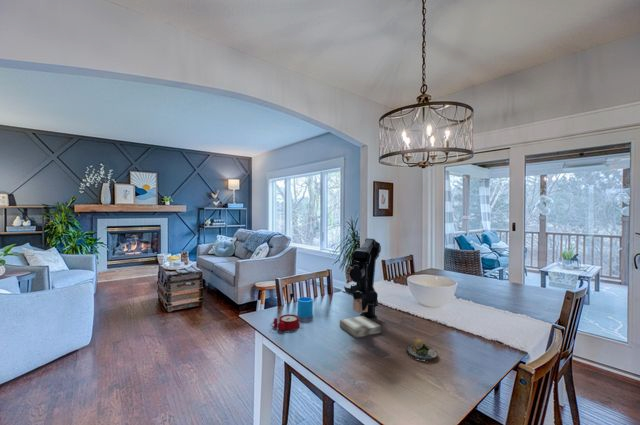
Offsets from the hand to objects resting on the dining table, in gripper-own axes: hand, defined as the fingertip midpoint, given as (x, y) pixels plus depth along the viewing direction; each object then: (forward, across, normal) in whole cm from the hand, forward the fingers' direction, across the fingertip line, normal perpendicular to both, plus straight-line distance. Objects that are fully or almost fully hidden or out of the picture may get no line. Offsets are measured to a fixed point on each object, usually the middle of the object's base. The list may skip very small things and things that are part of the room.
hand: (360, 308), depth 139 cm
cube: (+1, 0, 0) cm, 1 cm away
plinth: (+10, 0, 0) cm, 10 cm away
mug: (+10, -30, -16) cm, 35 cm away
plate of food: (+10, +30, +9) cm, 33 cm away
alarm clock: (+10, -17, -31) cm, 37 cm away
